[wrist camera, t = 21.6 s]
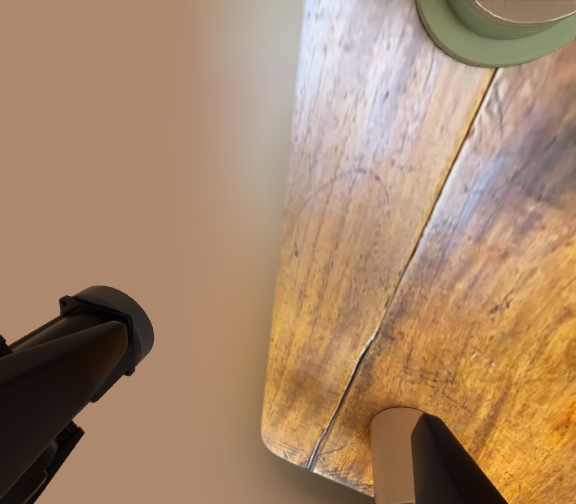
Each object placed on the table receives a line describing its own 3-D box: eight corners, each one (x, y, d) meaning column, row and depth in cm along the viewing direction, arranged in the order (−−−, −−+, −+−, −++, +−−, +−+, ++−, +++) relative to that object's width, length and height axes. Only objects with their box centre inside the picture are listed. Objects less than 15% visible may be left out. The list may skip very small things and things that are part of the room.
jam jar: (361, 442, 25) (366, 570, 17) (381, 398, 22) (396, 523, 15) (426, 463, 24) (460, 606, 17) (452, 420, 22) (506, 562, 14)
